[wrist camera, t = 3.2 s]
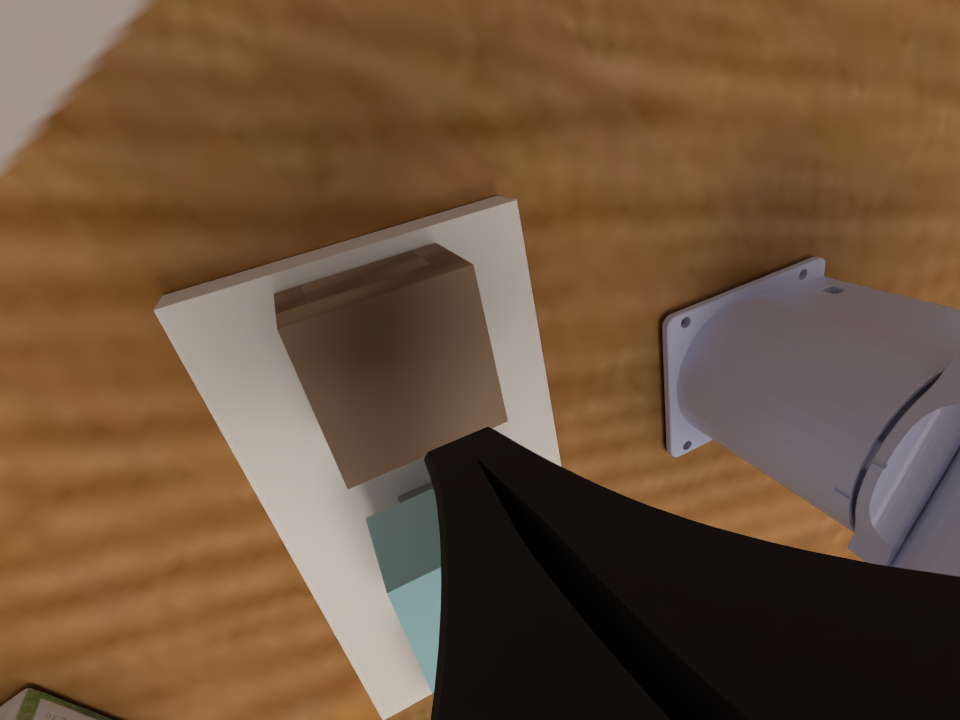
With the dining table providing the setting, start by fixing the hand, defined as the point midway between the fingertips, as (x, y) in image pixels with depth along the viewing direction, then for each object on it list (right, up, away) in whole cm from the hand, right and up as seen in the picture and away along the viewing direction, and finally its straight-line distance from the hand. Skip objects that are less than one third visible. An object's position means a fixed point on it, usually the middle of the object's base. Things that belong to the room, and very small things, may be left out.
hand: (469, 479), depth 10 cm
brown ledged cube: (-3, +3, +7) cm, 8 cm away
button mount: (-2, -3, +11) cm, 12 cm away
